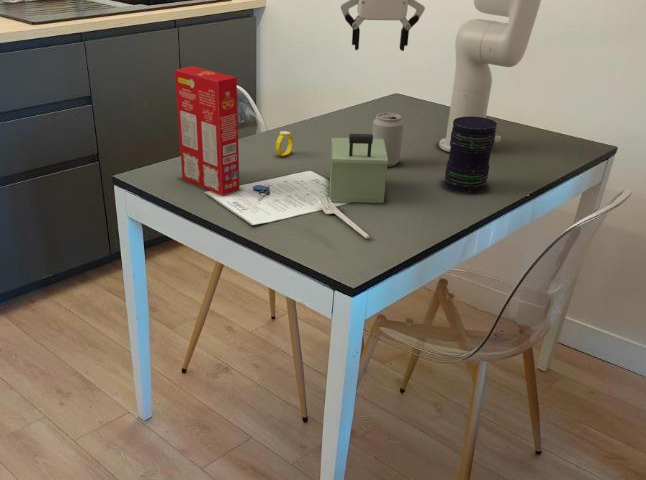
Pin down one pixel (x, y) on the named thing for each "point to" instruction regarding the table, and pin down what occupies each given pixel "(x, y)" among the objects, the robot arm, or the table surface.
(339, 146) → the box lid
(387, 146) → the can
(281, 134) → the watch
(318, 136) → the table surface
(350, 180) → the olive green lidded box
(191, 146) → the food packaging
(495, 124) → the dark blue disc stack
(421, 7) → the robot arm
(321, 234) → the table surface
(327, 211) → the fork
